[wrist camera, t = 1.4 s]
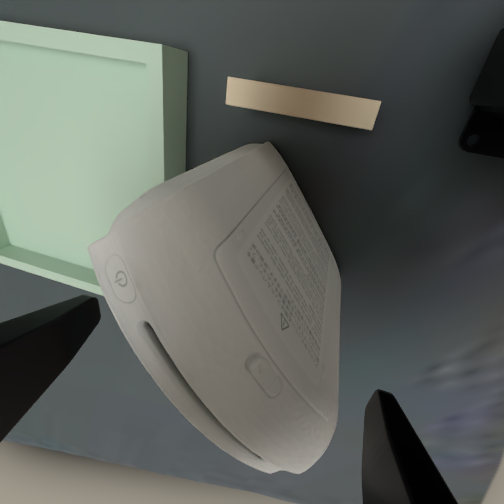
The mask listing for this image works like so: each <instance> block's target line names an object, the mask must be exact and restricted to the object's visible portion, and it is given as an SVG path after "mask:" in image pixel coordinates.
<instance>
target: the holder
mask: <svg viewBox="0 0 504 504" xmlns="http://www.w3.org/2000/svg"><path fill="white" fill-rule="evenodd" d="M226 104H227V105H232V106H238V107H244V108H249V109H255V110H261V111H266V112H272V113H278V114H283V115H289V116H294V117H300V118H306V119H311V120H317V121H323V122H328V123H334V124H339V125H345V126H351V127H356V128H362V129H368V130H372V129H373V126H374V123H375V120H376V117H377V113H378V110H379V107H380V104H381V101H377V100H371V99H365V98H359V97H352V96H346V95H340V94H334V93H328V92H321V91H315V90H309V89H303V88H296V87H290V86H284V85H278V84H272V83H265V82H259V81H253V80H246V79H240V78H233V77H228V81H227V93H226Z"/></svg>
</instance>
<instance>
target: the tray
mask: <svg viewBox="0 0 504 504" xmlns="http://www.w3.org/2000/svg"><path fill="white" fill-rule="evenodd" d="M187 74H188V52H187V51H184V50H180V49H176V48H173V47H169V46H166V45H162V44H155V43H148V42H142V41H135V40H128V39H121V38H114V37H108V36H101V35H94V34H87V33H80V32H74V31H67V30H60V29H53V28H46V27H40V26H33V25H26V24H19V23H12V22H6V21H0V263H2V264H5V265H8V266H11V267H14V268H17V269H21V270H24V271H27V272H30V273H33V274H36V275H40V276H43V277H46V278H49V279H52V280H55V281H58V282H62V283H65V284H68V285H71V286H74V287H77V288H80V289H84V290H87V291H90V292H93V293H96V294H99V295H103V296H104V294H103V292H102V289H101V287H100V285H99V282H98V280H97V277H96V274H95V271H94V268H93V265H92V262H91V259H90V256H89V252H88V249H87V248H88V246H89V245H90V244H92V243H93V242H95V241H97V240H99V239H101V238H103V237H105V236H106V235H108V233H109V230H110V228H111V226H112V224H113V222H114V220H115V219H116V217H117V215H118V214H119V213H120V212H121V211H123V210H124V209H125V208H126V207H128V206H129V205H130V204H131V203H132V202H134V201H135V200H136V199H137V198H138V197H140V196H141V195H142V194H143V193H145V192H146V191H148V190H149V189H151V188H153V187H155V186H157V185H159V184H161V183H163V182H165V181H167V180H170V179H172V178H174V177H176V176H178V175H180V174H182V173H185V171H186V123H187Z"/></svg>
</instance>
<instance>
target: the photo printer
mask: <svg viewBox="0 0 504 504" xmlns="http://www.w3.org/2000/svg"><path fill="white" fill-rule="evenodd" d="M87 249H88V252H89V256H90V259H91V262H92V265H93V268H94V271H95V274H96V277H97V280H98V282H99V285H100V287H101V289H102V292H103V294H104V297H105V299H106V301H107V303H108V305H109V307H110V309H111V311H112V313H113V315H114V317H115V319H116V321H117V323H118V325H119V327H120V328H121V330H122V332H123V334H124V336H125V337H126V339H127V341H128V342H129V344H130V346H131V347H132V349H133V351H134V352H135V354H136V355H137V357H138V358H139V360H140V361H141V363H142V364H143V366H144V367H145V369H146V370H147V371H148V373H149V374H150V375H151V377H152V378H153V379H154V381H155V382H156V383H157V385H158V386H159V387H160V389H161V390H162V391H163V392H164V394H165V395H166V396H167V397H168V398H169V400H170V401H171V402H172V403H173V404H174V405H175V407H176V408H177V409H178V410H179V411H180V412H181V413H182V414H183V415H184V417H185V418H186V419H187V420H188V421H189V422H190V423H191V424H192V425H194V426H195V427H196V428H197V429H198V430H199V431H200V432H201V433H202V434H204V435H205V436H206V437H207V438H208V439H209V440H211V441H212V442H213V443H214V444H216V445H217V446H218V447H220V448H221V449H222V450H224V451H225V452H227V453H228V454H230V455H231V456H233V457H234V458H236V459H238V460H239V461H241V462H243V463H245V464H246V465H249V466H251V467H253V468H256V469H258V470H260V471H263V472H266V473H274V472H277V471H280V470H286V471H289V472H291V473H295V474H300V473H302V472H304V471H306V470H307V469H309V468H310V467H311V466H312V465H313V464H314V463H315V462H316V461H317V460H318V459H319V458H320V457H321V456H322V454H323V453H324V452H325V450H326V449H327V447H328V445H329V443H330V441H331V439H332V436H333V434H334V431H335V428H336V424H337V416H338V385H339V342H340V305H341V279H340V274H339V270H338V267H337V264H336V261H335V259H334V256H333V254H332V252H331V250H330V247H329V245H328V243H327V241H326V239H325V237H324V235H323V233H322V231H321V229H320V227H319V225H318V223H317V221H316V219H315V217H314V215H313V213H312V211H311V209H310V208H309V206H308V204H307V202H306V200H305V198H304V196H303V194H302V192H301V190H300V188H299V187H298V185H297V183H296V181H295V179H294V177H293V175H292V174H291V172H290V170H289V168H288V167H287V165H286V163H285V162H284V160H283V158H282V157H281V155H280V154H279V153H278V151H277V150H276V149H275V147H274V146H273V145H272V144H271V143H270V142H265V143H264V144H256V143H254V144H247V145H244V146H242V147H240V148H237V149H235V150H233V151H231V152H228V153H226V154H224V155H222V156H220V157H217V158H215V159H213V160H211V161H209V162H207V163H204V164H202V165H200V166H198V167H195V168H193V169H191V170H189V171H187V172H185V173H182V174H180V175H178V176H176V177H174V178H172V179H170V180H167V181H165V182H163V183H161V184H159V185H157V186H155V187H153V188H151V189H149V190H148V191H146V192H145V193H143V194H142V195H141V196H140V197H138V198H137V199H136V200H135V201H134V202H132V203H131V204H130V205H129V206H128V207H126V208H125V209H124V210H123V211H121V212H120V213H119V214H118V215H117V217H116V219H115V220H114V222H113V224H112V226H111V228H110V230H109V233H108V235H106V236H105V237H103V238H101V239H99V240H97V241H95V242H93V243H92V244H90V245H89V246H88V248H87Z"/></svg>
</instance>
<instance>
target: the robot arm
mask: <svg viewBox="0 0 504 504" xmlns="http://www.w3.org/2000/svg"><path fill="white" fill-rule="evenodd" d="M470 100H471V102H472V104H473V105H475V107H474V109H473V111H472V113H471V115H470V117H469V119H468V122H467V124H466V126H465V128H464V130H463V132H462V134H461V136H460V139H459V146H460V148H461V149H462V150H465V151H467V152H472V153H477V154H483V155H488V156H494V157H500V158H504V28H503V29H502V30H501V31H500V33H499V36H498V38H497V40H496V42H495V44H494V47H493V49H492V51H491V53H490V55H489V57H488V60H487V62H486V64H485V66H484V68H483V70H482V73H481V75H480V77H479V79H478V81H477V83H476V86H475V88H474V90H473V92H472V94H471V96H470ZM475 134H476V135H477V136H478V141H477V142H476V143H475V144H474V145H471V146H468V145H467V143H466V142H467V139H468V138H469V136H471V135H475ZM100 318H101V313H100V308H99V302H98V299H97V298H96V297H93V296H90V295H87V294H84V295H81V296H78V297H75V298H72V299H69V300H66V301H63V302H60V303H57V304H54V305H51V306H49V307H46V308H43V309H40V310H37V311H34V312H31V313H28V314H25V315H22V316H20V317H17V318H14V319H11V320H8V321H5V322H2V323H0V442H1V441H2V440H3V439H4V438H5V436H6V435H7V434H8V433H9V432H10V431H11V430H12V428H13V427H14V426H15V425H16V424H17V423H18V422H19V420H20V419H21V418H22V417H23V416H24V415H25V414H26V412H27V411H28V410H29V409H30V408H31V407H32V405H33V404H34V403H35V402H36V401H37V400H38V399H39V397H40V396H41V395H42V394H43V393H44V392H45V391H46V389H47V388H48V387H49V386H50V385H51V384H52V382H53V381H54V380H55V379H56V378H57V377H58V376H59V374H60V373H61V372H62V371H63V370H64V369H65V367H66V366H67V365H68V364H69V363H70V361H71V360H72V359H73V357H74V356H75V355H76V353H77V352H78V351H79V349H80V348H81V346H82V345H83V344H84V342H85V341H86V340H87V338H88V337H89V335H90V334H91V333H92V331H93V330H94V328H95V327H96V326H97V324H98V323H99V321H100ZM362 494H363V504H458V503H457V501H456V499H455V498H454V496H453V494H452V493H451V491H450V489H449V487H448V486H447V484H446V482H445V481H444V479H443V477H442V476H441V474H440V472H439V471H438V469H437V467H436V466H435V464H434V462H433V461H432V459H431V457H430V456H429V454H428V452H427V451H426V449H425V447H424V446H423V444H422V442H421V440H420V439H419V437H418V435H417V434H416V432H415V430H414V429H413V427H412V425H411V424H410V422H409V420H408V419H407V417H406V415H405V414H404V412H403V410H402V409H401V407H400V405H399V404H398V402H397V400H396V398H395V397H394V396H393V395H392V394H391V393H389V392H386V391H383V390H380V389H377V390H376V391H375V392H374V394H373V395H372V397H371V399H370V400H369V402H368V404H367V406H366V409H365V418H364V435H363V453H362Z"/></svg>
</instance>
